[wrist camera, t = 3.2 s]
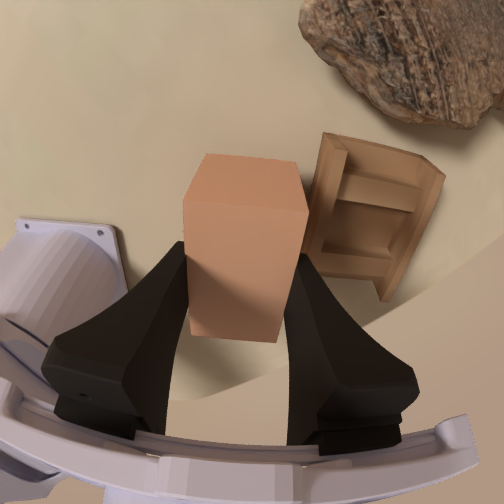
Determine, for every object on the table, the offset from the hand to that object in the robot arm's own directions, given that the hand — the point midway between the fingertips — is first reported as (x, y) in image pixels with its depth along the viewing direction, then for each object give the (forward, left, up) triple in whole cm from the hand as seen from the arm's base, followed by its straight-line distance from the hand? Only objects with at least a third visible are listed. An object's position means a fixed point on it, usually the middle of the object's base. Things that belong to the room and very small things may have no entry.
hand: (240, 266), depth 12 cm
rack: (+7, 0, -6) cm, 9 cm away
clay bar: (0, 0, -3) cm, 3 cm away
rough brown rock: (+10, +14, -6) cm, 19 cm away
